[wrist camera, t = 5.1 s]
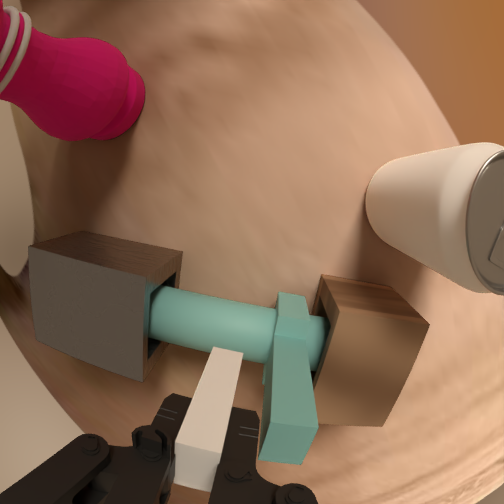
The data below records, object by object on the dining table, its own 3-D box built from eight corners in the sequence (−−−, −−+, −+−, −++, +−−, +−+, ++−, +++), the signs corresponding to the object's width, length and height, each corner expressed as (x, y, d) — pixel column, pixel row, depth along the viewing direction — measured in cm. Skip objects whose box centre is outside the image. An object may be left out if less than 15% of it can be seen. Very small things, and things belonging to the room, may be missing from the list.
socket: (321, 274, 21) (339, 311, 15) (390, 286, 21) (429, 324, 14) (297, 364, 23) (302, 422, 16) (361, 372, 23) (382, 426, 16)
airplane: (134, 321, 22) (49, 408, 11) (137, 262, 21) (32, 325, 10) (341, 363, 21) (376, 480, 10) (361, 305, 20) (425, 408, 9)
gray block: (82, 230, 22) (28, 246, 16) (182, 251, 22) (146, 277, 15) (81, 308, 24) (36, 340, 17) (174, 336, 23) (142, 382, 17)
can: (450, 181, 19) (568, 186, 7) (423, 259, 20) (527, 322, 9) (380, 143, 19) (480, 104, 7) (350, 228, 20) (430, 277, 9)
